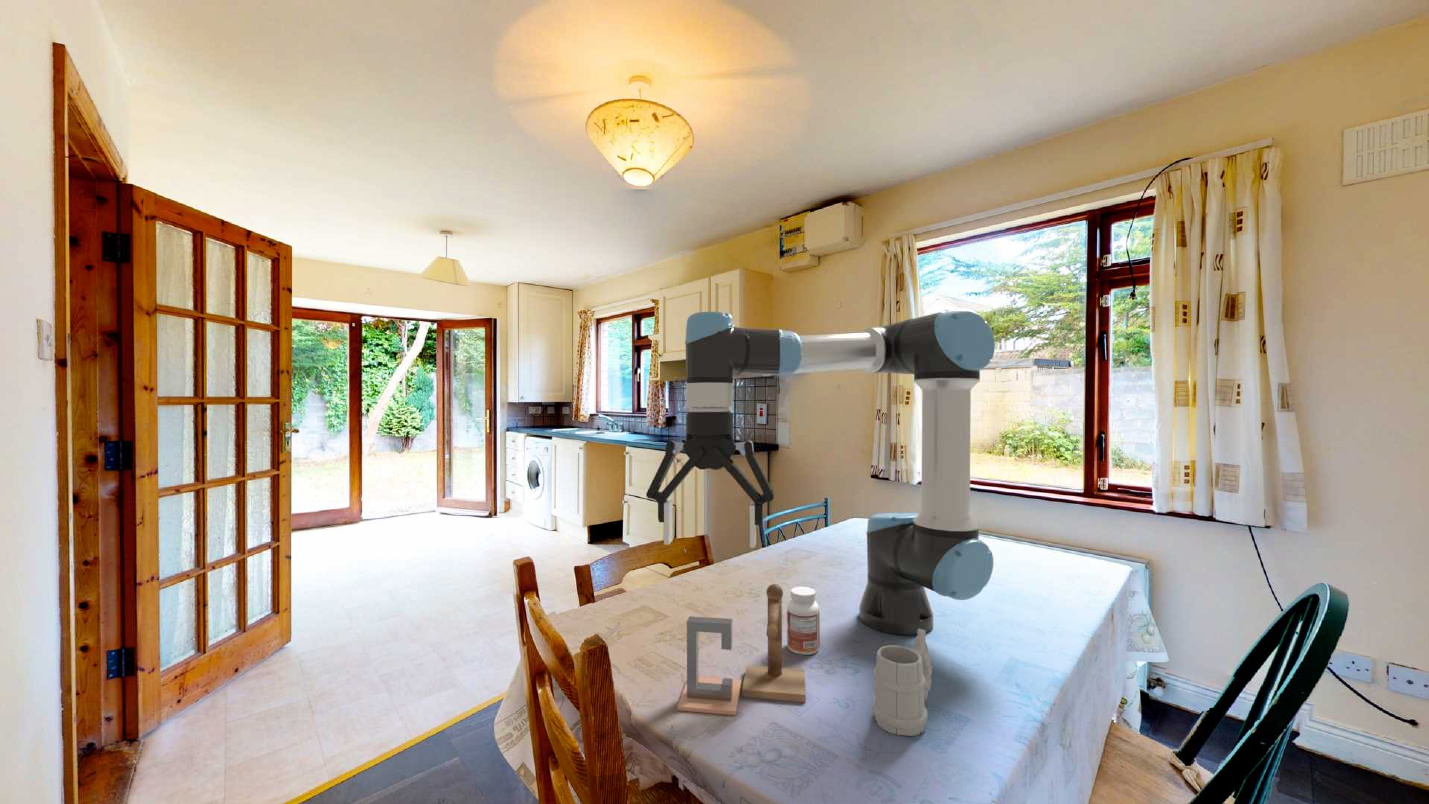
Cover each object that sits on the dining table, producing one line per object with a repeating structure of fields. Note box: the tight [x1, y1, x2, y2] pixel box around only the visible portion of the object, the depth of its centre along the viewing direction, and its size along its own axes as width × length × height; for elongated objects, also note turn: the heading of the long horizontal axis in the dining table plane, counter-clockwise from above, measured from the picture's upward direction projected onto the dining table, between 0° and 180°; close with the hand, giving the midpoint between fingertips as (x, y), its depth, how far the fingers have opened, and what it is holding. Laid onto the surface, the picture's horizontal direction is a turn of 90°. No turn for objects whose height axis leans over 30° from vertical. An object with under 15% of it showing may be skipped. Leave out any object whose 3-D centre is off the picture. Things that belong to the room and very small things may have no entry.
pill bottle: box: [786, 586, 821, 656], centre depth 100 cm, size 6×6×11 cm
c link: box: [686, 616, 734, 701], centre depth 83 cm, size 7×2×12 cm, turn 81°
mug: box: [871, 629, 933, 737], centre depth 78 cm, size 8×12×12 cm, turn 127°
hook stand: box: [741, 583, 807, 703], centre depth 84 cm, size 14×10×16 cm
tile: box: [676, 676, 743, 716], centre depth 84 cm, size 9×9×1 cm
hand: (710, 544), depth 83 cm, fingers open, 13 cm apart
